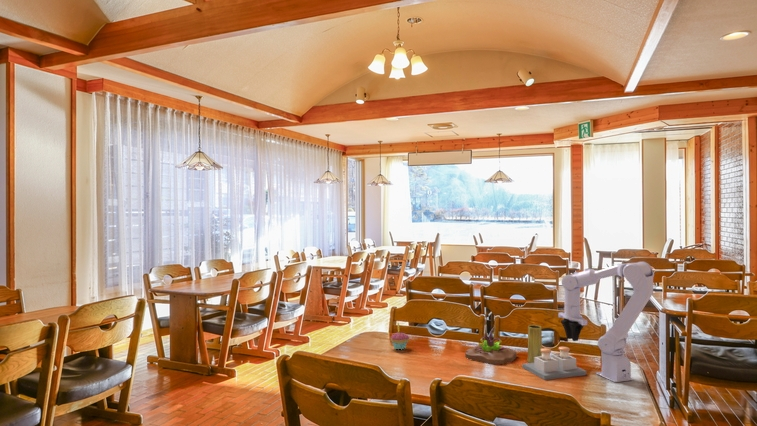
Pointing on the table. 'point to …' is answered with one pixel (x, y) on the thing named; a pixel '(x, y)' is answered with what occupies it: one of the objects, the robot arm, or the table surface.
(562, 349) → the knob
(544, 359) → the knob
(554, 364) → the panel
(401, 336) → the cupcake
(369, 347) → the table surface
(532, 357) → the vase
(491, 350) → the plant
